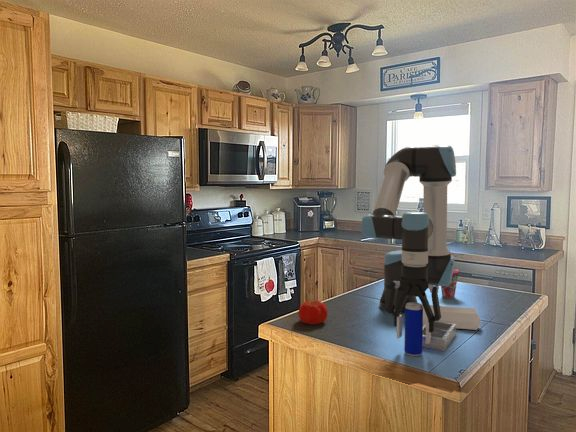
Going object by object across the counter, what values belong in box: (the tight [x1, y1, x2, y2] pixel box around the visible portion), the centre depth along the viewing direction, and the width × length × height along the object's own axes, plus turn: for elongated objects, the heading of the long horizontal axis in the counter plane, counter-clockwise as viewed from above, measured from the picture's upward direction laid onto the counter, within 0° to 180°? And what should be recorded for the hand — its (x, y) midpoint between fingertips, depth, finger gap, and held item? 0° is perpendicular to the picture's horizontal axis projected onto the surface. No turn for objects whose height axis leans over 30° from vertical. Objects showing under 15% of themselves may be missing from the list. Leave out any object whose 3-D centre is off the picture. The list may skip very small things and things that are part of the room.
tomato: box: [298, 300, 329, 326], centre depth 163 cm, size 11×11×8 cm
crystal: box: [422, 304, 482, 331], centre depth 158 cm, size 7×7×24 cm
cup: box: [440, 268, 460, 299], centre depth 196 cm, size 9×8×12 cm
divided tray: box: [422, 321, 457, 352], centre depth 144 cm, size 9×17×4 cm, turn 148°
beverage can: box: [404, 302, 423, 357], centre depth 133 cm, size 5×5×15 cm
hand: (413, 339), depth 133 cm, fingers open, 8 cm apart
